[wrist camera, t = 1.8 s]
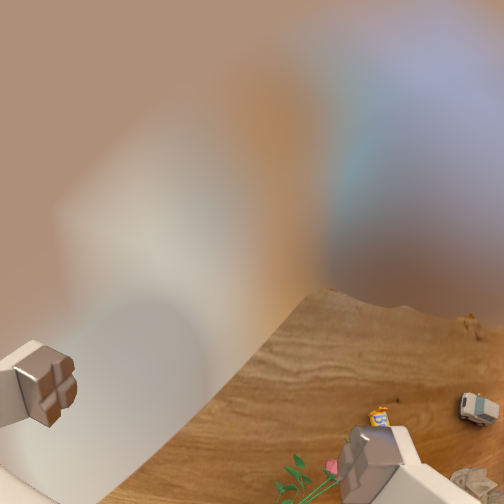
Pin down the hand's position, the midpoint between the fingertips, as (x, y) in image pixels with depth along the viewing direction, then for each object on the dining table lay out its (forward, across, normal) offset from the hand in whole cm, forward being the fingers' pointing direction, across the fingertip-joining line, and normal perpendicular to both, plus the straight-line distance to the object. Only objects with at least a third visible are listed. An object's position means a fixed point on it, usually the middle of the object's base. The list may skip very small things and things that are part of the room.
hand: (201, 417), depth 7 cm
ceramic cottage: (+23, -51, +43) cm, 71 cm away
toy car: (+39, -51, +30) cm, 71 cm away
